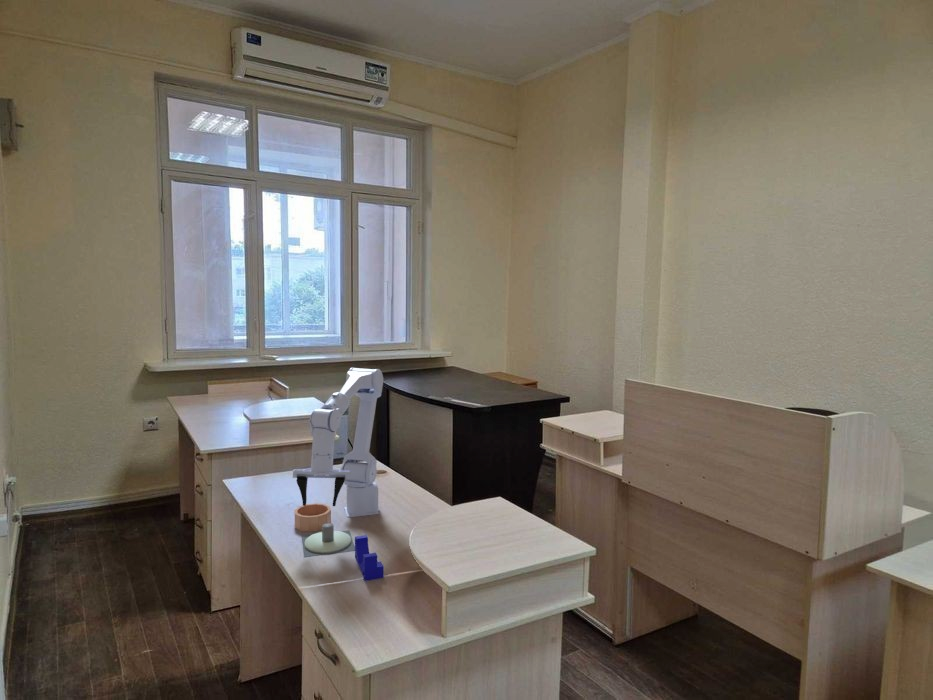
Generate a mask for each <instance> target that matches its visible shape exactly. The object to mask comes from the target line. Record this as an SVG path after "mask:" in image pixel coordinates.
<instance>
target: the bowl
mask: <svg viewBox="0 0 933 700" xmlns="http://www.w3.org/2000/svg"><path fill="white" fill-rule="evenodd" d="M328 523H330V524H332V508H331V506H330V505H328V504H326V503H319V502H317V503H315V502H314V503H306V506H303V505H300V506H297V507H296V508H295V509H294V528H295V529H297V530H298V531H302V532H308V533H309V532H317V531H318V532H319V531H322V525H324V524H328Z"/></svg>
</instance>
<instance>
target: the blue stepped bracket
mask: <svg viewBox="0 0 933 700" xmlns="http://www.w3.org/2000/svg"><path fill="white" fill-rule="evenodd" d="M354 546H355V551H354V558H355V559H356V562H357V565H358V568H359V569H360V572H361V574H362V576H364V577H363V580H364V582H367V581H373V580H378V579H383V578H384V576H385V575H384V572H385V571H384V564H383V563H382V561H378V554H377V553H376V552H371V553H370V549H369V537H368V535H367V534H363V535H356V536H354Z"/></svg>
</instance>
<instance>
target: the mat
mask: <svg viewBox="0 0 933 700" xmlns="http://www.w3.org/2000/svg"><path fill="white" fill-rule="evenodd" d="M341 532H344V533H347V534H348V535H349V536H350V537H351V543H350V545H349V546H348V547H346V548H345V549H343V550H340V551H337V552H332V553H315V552H311V551H309V550H307V549H306V548H305V540H306V539H307V538H308V537H309V536H311V535H312V534H308V535H307V534H306V535H301V543H302V551H303V558H311V557H317V556H325V555H326V556H327V555H333V554H341V553H347V552H348V553H349V552H355V542H354V541H353V537H352V534H351V531H350V529H348V530H342V531H341Z"/></svg>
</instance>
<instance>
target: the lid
mask: <svg viewBox="0 0 933 700" xmlns="http://www.w3.org/2000/svg"><path fill="white" fill-rule="evenodd" d="M334 526H335V525H334V524H333V523H331V524H330V523H328V524H324V525H322V530H321V531H318V532H315V533H313V534H310V535H311V536H309V537H308V538H307V539H306V540H305V548H306V549H307V550H309V551H311V552H315V553H332V552H337V551H340V550H343V549H345V548H346V547H348V546H349V545H350V543H351V537H352V536H351V537H350V536H349V535H348V534H347V533H344V532H341V531H340V530H339V531H338V530H334V528H335V527H334Z"/></svg>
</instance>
